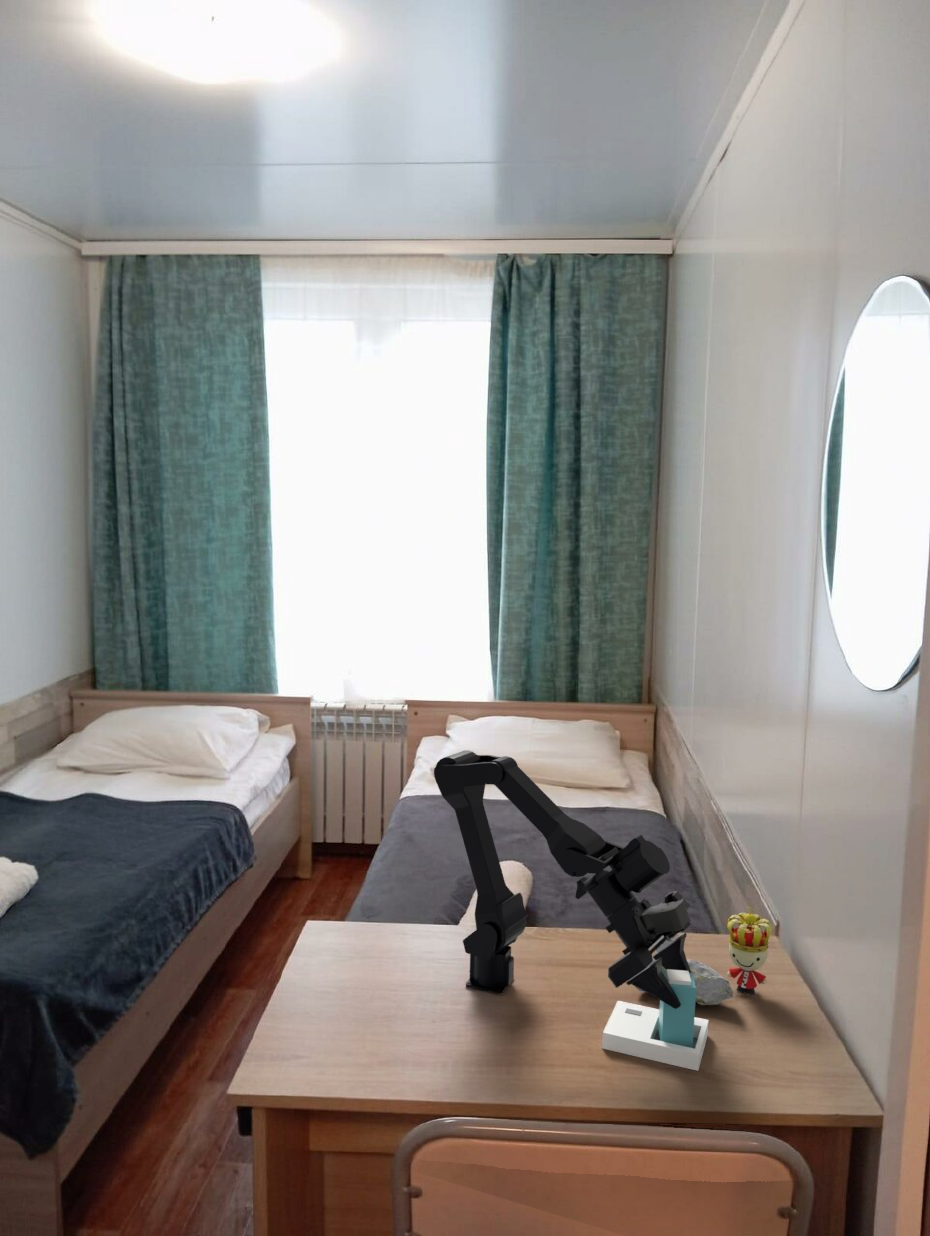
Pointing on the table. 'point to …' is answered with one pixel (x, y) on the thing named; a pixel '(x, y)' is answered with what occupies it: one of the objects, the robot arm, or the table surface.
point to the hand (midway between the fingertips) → (686, 998)
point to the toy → (748, 949)
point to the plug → (678, 1010)
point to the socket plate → (651, 1037)
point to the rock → (707, 984)
